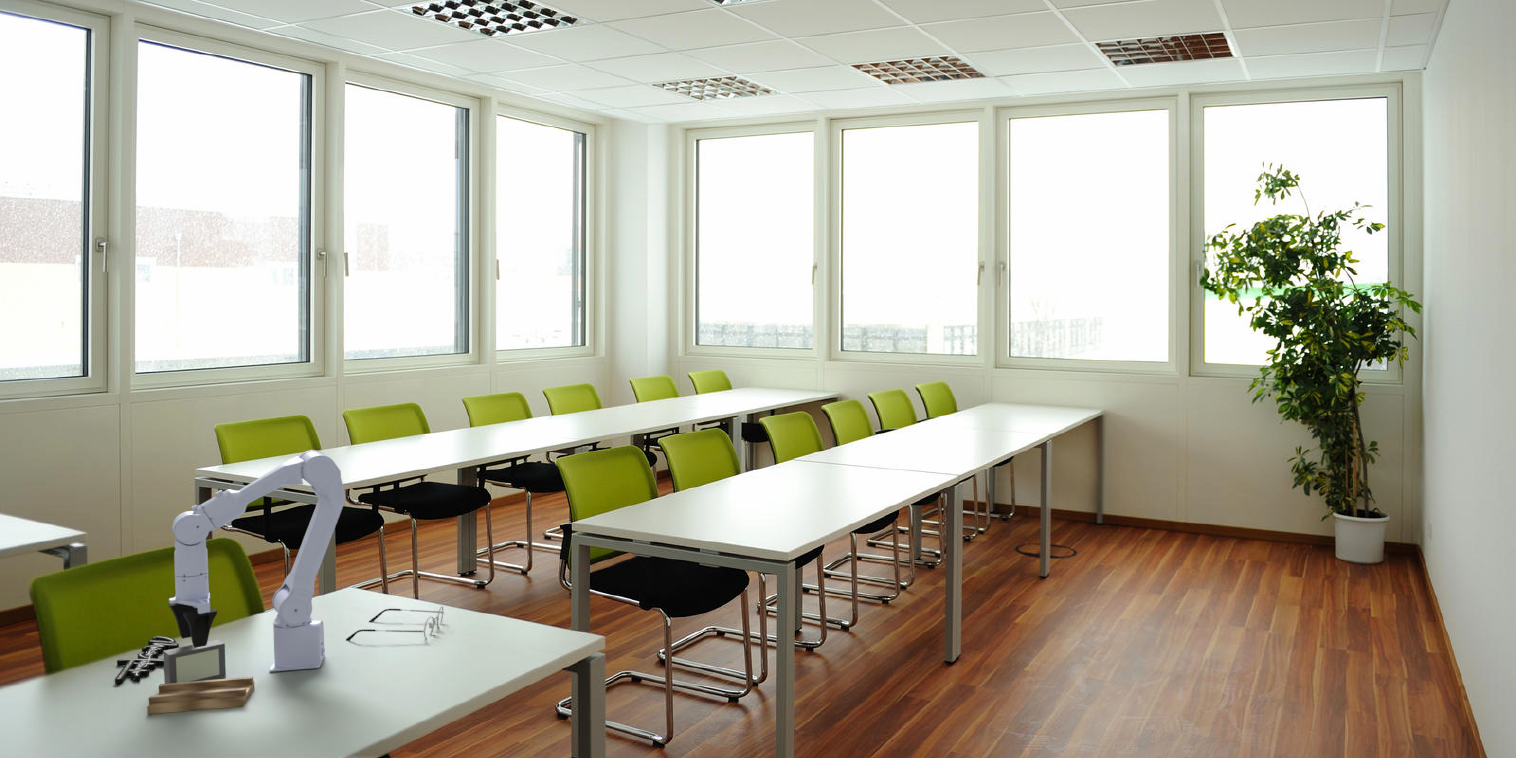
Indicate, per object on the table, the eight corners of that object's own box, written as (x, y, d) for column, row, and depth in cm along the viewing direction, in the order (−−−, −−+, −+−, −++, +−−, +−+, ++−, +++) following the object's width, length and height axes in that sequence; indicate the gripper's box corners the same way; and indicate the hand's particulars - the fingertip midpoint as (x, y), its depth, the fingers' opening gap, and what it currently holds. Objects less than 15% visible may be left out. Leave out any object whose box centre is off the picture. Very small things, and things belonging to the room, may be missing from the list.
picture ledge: (254, 688, 200) (254, 674, 200) (244, 705, 192) (243, 691, 191) (162, 696, 196) (161, 682, 196) (147, 714, 187) (146, 699, 187)
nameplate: (134, 638, 227) (185, 633, 230) (134, 645, 227) (185, 640, 230) (100, 681, 201) (159, 675, 204) (101, 689, 201) (159, 682, 204)
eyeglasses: (427, 644, 228) (426, 622, 227) (343, 644, 228) (342, 621, 228) (449, 622, 244) (449, 601, 243) (371, 621, 244) (370, 601, 244)
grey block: (219, 673, 209) (218, 639, 208) (226, 677, 206) (224, 643, 206) (164, 685, 202) (163, 650, 201) (170, 691, 199) (169, 655, 199)
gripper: (157, 570, 205) (160, 637, 206) (180, 584, 194) (182, 655, 195) (196, 564, 210) (198, 629, 211) (221, 577, 199) (223, 646, 200)
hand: (193, 641), depth 203 cm, fingers open, 7 cm apart
